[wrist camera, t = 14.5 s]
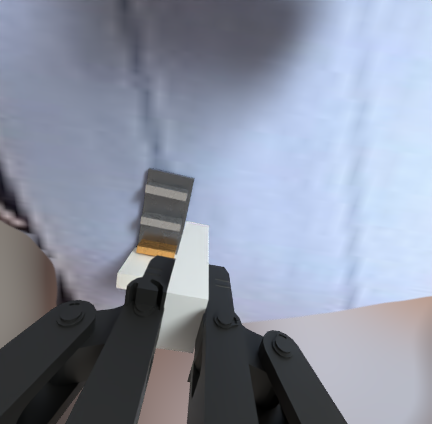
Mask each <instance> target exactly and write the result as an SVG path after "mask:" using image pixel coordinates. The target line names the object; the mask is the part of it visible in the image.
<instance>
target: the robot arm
mask: <svg viewBox="0 0 432 424" xmlns="http://www.w3.org/2000/svg"><path fill="white" fill-rule="evenodd" d="M156 348H160V349H168V350H174V351H182V352H189V353H193V351H194V348H195V355H194V361H193V364H192V367H191V371H190V374H189V378H188V382H190V393H189V405H188V417H187V424H347V422H346V421H345V419H344V417H343V416H342V414H341V413H340V411H339V410H338V408H337V406H336V405H335V403H334V402H333V400H332V399H331V397H330V396H329V394H328V392H327V391H326V389H325V388H324V386H323V385H322V383H321V382H320V380H319V378H318V377H317V375H316V374H315V372H314V370H313V369H312V367H311V366H310V364H309V363H308V361H307V359H306V358H305V356H304V355H303V353H302V352H301V350H300V349H299V347H298V346H297V344H296V343H295V342H294V341H293V339H291V338H290V337H289V336H287V335H286V334H284V333H282V332H280V331H274V330H272V331H268V332H267V333H266V334H265V335H264V337H263V336H261V335H259V334H256V333H254V332H252V331H250V330H248V329H246V328H245V327H244V326H243V325H242V324H241V321H240V318H239V317H238V316H237V315H236V313H235V312H234V306H233V299H232V292H231V285H230V278H229V273H228V272H227V271H226V269H225V268H224V267H220V266H215V265H210V264H209V226H208V225H203V224H198V223H194V222H189V221H186V223H185V227H184V231H183V234H182V238H181V242H180V245H179V249H178V253H177V256H176V259H175V258H169V257H164V256H159V255H157V256H155V257H154V258H153V259H151V260H150V262H149V264H148V266H147V268H146V270H145V273H144V275H143V277H139V278H136V279H134V280H132V281H131V282H130V283H129V284H128V285H127V288H126V296H125V304H124V305H123V306H120V307H118V308H114V309H109V310H99V311H96V309H95V307H94V305H92V304H91V303H89V302H87V301H82V300H75V301H69V302H66V303H63V304H60V305H59V306H57V307H55V308H53V309H52V310H51V311H49V312H48V313H47V314H45V315H44V316H43V317H41V318H40V319H39V320H38V321H36V322H35V323H34V324H32V325H31V326H30V327H28V328H27V329H26V330H24V331H23V332H22V333H21V334H19V335H18V336H17V337H15V338H14V339H13V340H11V341H10V342H9V343H7V344H6V345H5V346H4V347H2V348H1V349H0V424H56V423H57V422H58V420H59V419H60V418H61V416H62V415H63V413H64V412H65V411H66V409H67V408H68V407H69V405H70V404H71V403H72V401H73V400H74V399H75V397H76V396H77V395H78V393H79V392H80V390H81V389H82V388H83V390H82V391H81V393H80V395H79V397H78V399H77V401H76V403H75V405H74V407H73V409H72V411H71V413H70V415H69V417H68V419H67V421H66V423H65V424H137V423H138V419H139V415H140V411H141V407H142V403H143V399H144V395H145V391H146V387H147V383H148V379H149V375H150V371H151V367H152V363H153V358H154V353H155V349H156Z"/></svg>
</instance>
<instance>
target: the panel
mask: <svg viewBox="0 0 432 424" xmlns="http://www.w3.org/2000/svg"><path fill="white" fill-rule="evenodd" d="M136 250H137V247H135V248H134V250H133V251H132V252H131V254H130V255H129V257H128V258H127V260H126V261H125V263H124V264H123V266H122V267H121V269H120V270H119V272H118V274H117V283H116V288H120V289H126V288H127V285H128V284H129V283H130V282H131V281H132V280H134V279H136V278H139V277H143V275H144V273H145V270H146V268H147V266H148V264H149V262H150V260H151V259H153V258H154V257H155V256H153V255H147V254H142V253H136ZM176 256H177V255H176V254H175V257H174V258H175V259H176Z"/></svg>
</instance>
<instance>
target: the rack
mask: <svg viewBox="0 0 432 424" xmlns="http://www.w3.org/2000/svg"><path fill="white" fill-rule="evenodd" d="M193 182H194V178H192V177H187V176H183V175H179V174H175V173H170V172H166V171H162V170H157V169H153V168H149V171H148V178H147V184H146V188H145V198H144V205H143V212H142V216H141V222H140V224H141V226H140V233H139V240H138V245H137V250H136V253H142V254H147V255H153V256H157V255H159V256H164V257H169V258H174V257H175V254H176V255H177V253H178V249H179V245H180V242H181V238H182V234H183V230H184V225H185V220H186V216H187V211H188V206H189V201H190V197H191V192H192V187H193Z"/></svg>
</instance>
